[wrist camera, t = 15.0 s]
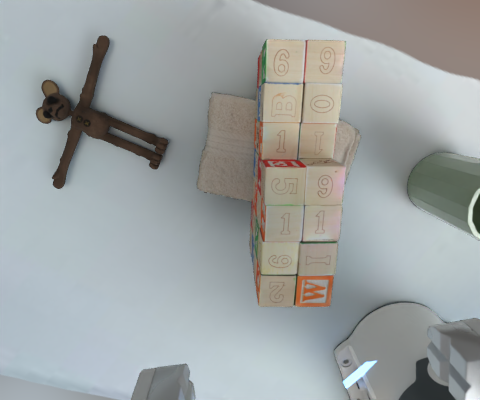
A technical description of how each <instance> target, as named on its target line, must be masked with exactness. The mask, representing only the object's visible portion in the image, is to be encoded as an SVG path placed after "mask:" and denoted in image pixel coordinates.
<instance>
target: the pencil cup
mask: <svg viewBox="0 0 480 400" xmlns="http://www.w3.org/2000/svg"><path fill="white" fill-rule="evenodd" d="M407 190H408V195H409V198H410V200H411V202H412V203H413V204H414V205H415V206H416V207H418V208H419V209H421V210H422V211H424V212H426V213H427V214H429V215H431V216H433V217H435V218H437V219H439V220H441V221H443V222H444V223H446V224H448V225H450V226H452V227H454V228H456V229H458V230H460V231H461V232H463V233H465V234H467V235H469V236H471V237H473V238H475V239H477V240H478V241H480V159H478V158H473V157H468V156H463V155H458V154H453V153H448V152H441V153H435V154H432V155H429V156H428V157H426V158H424V159H423V160H421V161H420V162H419V163H418V164H417V165H416V166H415V168H414V169H413V170H412V172H411V174H410V176H409V179H408V184H407Z"/></svg>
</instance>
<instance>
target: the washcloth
mask: <svg viewBox="0 0 480 400" xmlns="http://www.w3.org/2000/svg"><path fill="white" fill-rule="evenodd" d="M255 109H256V100H251V99H247V98H243V97H238V96H233V95H227V94H220V93H213V92H212V93H211V98H210V100H209V110H208V134H207V140H206V145H205V148H204V150H203V151H202V157H201V161H200V165H199V175H198V181H197V188H198V189H199V190H200V191H203V192H204V193H207V192H209V193H210V194H215V195H224V196H225V197H232V198H234V199H241V200H247V201H249V202H252V198H253V175H254V173H253V169H254V148H255V147H254V132H255ZM360 139H361V135H360V134H359V130H358V129H356V128H353V127H352V126H351V125H350V124H348V123H346V122H345V121H342V120H339V122H338V124H337V132H336V141H335V150H334V160H336V161H337V162H339V163H341V164H343V165H345V166H346V174H345V183H346V180H347V177H348V174H349V171H350V168H351V165H352V162H353V160H354V157H355V154H356V151H357V147H358V144H359V141H360ZM344 185H345V184H344Z"/></svg>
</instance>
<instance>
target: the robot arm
mask: <svg viewBox="0 0 480 400" xmlns="http://www.w3.org/2000/svg"><path fill="white" fill-rule="evenodd" d="M334 355H335V358H336V361H337V363H338V366H339V369H340V372H341V374H342V377H343V380H344V381H343V383H344V385H345V388H347V391H348V394H349V396H350V399H351V400H480V320H479V319H477V318H472V319H466V320H460V321H455V322H449V323H445V322H443V321H442V320H441V319H440V318H439V317H438V315H437V314H436V313H435V312H433V311H432V310H431V309H429V308H427V307H425V306H423V305H420V304H416V303H395V304H390V305H387V306H384V307H382V308H379V309H377V310H375V311H374V312H372V313H371V314H369V315H368V316H366V317H365V318H364V319H363V320H362V321H361V322H360V323H359V324H358V326H357V327H356V328H355V330H354V332H353V333H352V335H351V336H350V337H349V338H348V339H347V340H346V341H344V342H343V343H341V344H340V345H339V346H338V347H337V348H336V349H335V351H334ZM345 359H346V360H345ZM189 376H190V371H189V367H188V365H187V364H179V365H171V366H163V367H157V368H151V369H143V370H142V371H141V373H140V374H139V377H138V380H137V383H136V386H135V389H134V392H133V395H132V397H131V400H195V390H194V386H193V383H192V382H191V381H190V380H189Z"/></svg>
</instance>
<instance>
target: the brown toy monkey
mask: <svg viewBox="0 0 480 400" xmlns="http://www.w3.org/2000/svg"><path fill="white" fill-rule="evenodd" d="M108 47H109V38H108V37H107V36H99V38H98V40H97V43H96V44H94V45H93V57H92V61H91V65H90V68H89V72H88V74H87V78H86V82H85V85H84V87H83V88H82V93H81V94H80V101H79V103H78V105H77V106H76V107H75V109H74V111H72V110H71V105H70V102H69V100H68V99H67V98H65V97H64V96H63V95H61V94H60V93H59V87H58V86H57V84H56V83H55V82H53V81H51V80H45V81H44V82H43V83H42V91H43V93H44V95H45V97H46V98H45V99H44V101H43V105H42V107H40V108H38V109H37V110H36V116H37V118H38V120H39V121H40V122H42V123H45V124H48V123H50V122H51V120H52V119H53V120H56V121H62V120H64V119H66V118H67V117H68V116H70V115H71V116H72V118H71V129H70V131H69V132H68V134H67V135H68V138H67V142H66V146H65V149H64V152H63V155H62V157H61V158H60V164H59V166H58V169H57V171H56V172H55V174H54V175H53V177H52V179H54V181H53V186H54V187H55V188H57V189H61V188H62V187H63V186H64V184H65V179H66V174H67V170H68V167H69V164H70V161H71V159H72V156H73V154H74V151H75V149H76V146H77V144H78V141H79V138H80V136H81V133H82V131H83V132H85V133H86V134H87V135H88V136H91V137H93V138H96V139H102V140H104V141H107V142H109V143H111V144H113V145H115V146H117V147H121V148H123V149H126V150H128V151H131V152H133V153H135V154H136V155H138V156H143V157H145V158H146V159H148V160H150V164H149V166H150V167H151V168H152V169H158V167H159V165H160V162H161V160H162V157H163V156H162V154H163V153H164V152H165V150H166V147H167V145H168V140H166V139H164V138H158V137H156V135H154V134H151V133H147V132H145V131H142V130H140V129H138V128H135V127H133V126H131V125H128V124H126V123H124V122H122V121H119V120H117V119H115V118H112V117H110V116H108V115H107V114H105V113H103V112H99V111H96V110H94V109H91V108H90V105H91V102H92V99H93V96H94V91H95V86H96V82H97V78H98V74H99V71H100V67H101V64H102V61H103V59H104V56H105V54H106V52H107V50H108ZM110 126H111V127H114V128H116V129H118V130H121V131H123V132H125V133H128V134H130V135H132V136H135V137H137V138H139V139H142V140H144V141H146V142H147V143H149V144H153V145H155V146H156V148H155V151H156V152H157V153H156V152H153V151H150V150H148V149H146V148H143V147H141V146H138V145H136V144H134V143H131V142H129V141H126V140H124V139H122V138H119V137H117V136H114V135H112V134H110V133H108V131H109V128H110Z"/></svg>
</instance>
